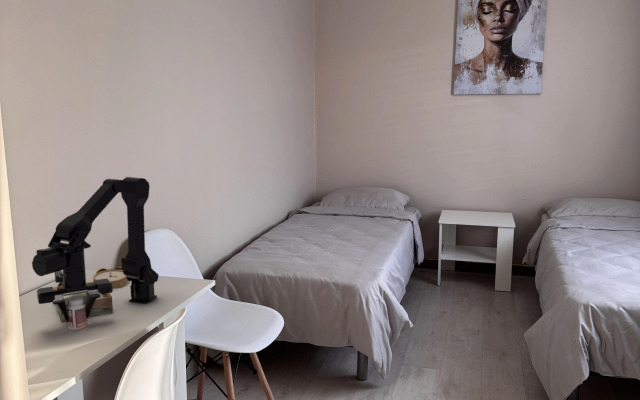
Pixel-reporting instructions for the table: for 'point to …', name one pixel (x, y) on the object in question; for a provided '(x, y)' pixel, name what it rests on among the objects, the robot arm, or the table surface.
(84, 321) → the pill bottle
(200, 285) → the table surface
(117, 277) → the alarm clock
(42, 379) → the table surface
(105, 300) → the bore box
